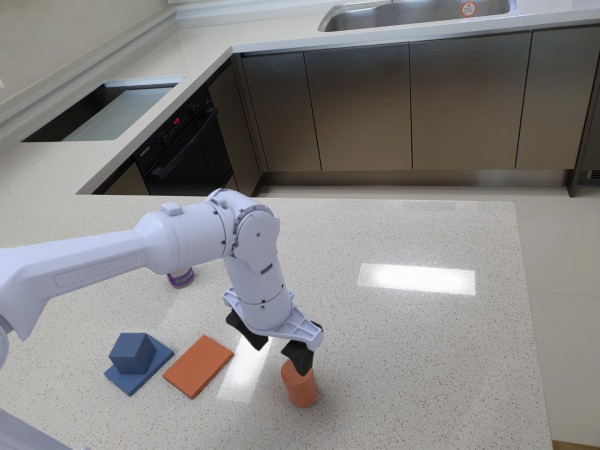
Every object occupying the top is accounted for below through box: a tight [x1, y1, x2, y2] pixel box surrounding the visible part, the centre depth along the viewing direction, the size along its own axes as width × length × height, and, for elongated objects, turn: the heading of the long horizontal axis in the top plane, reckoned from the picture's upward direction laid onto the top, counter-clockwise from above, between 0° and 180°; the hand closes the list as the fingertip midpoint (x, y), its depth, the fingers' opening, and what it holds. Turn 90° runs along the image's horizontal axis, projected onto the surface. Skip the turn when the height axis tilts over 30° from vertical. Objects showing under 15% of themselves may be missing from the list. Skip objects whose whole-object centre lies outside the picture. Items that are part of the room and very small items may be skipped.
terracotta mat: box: [161, 333, 235, 400], centre depth 72 cm, size 9×7×1 cm
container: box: [166, 266, 196, 289], centre depth 84 cm, size 5×5×15 cm
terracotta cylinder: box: [279, 358, 320, 408], centre depth 63 cm, size 4×4×6 cm
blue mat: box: [103, 333, 175, 397], centre depth 74 cm, size 9×7×1 cm
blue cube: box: [107, 332, 156, 374], centre depth 72 cm, size 4×4×4 cm
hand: (283, 357), depth 61 cm, fingers open, 7 cm apart
